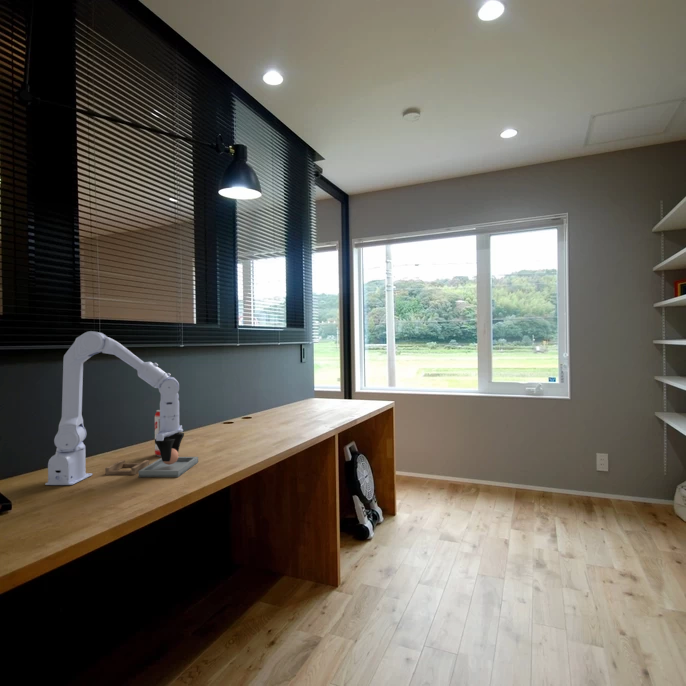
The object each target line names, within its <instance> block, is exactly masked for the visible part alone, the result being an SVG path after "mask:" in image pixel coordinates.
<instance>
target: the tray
mask: <svg viewBox="0 0 686 686" xmlns="http://www.w3.org/2000/svg"><path fill="white" fill-rule="evenodd" d="M198 463H199V456H179V457H178V460H177V461H176V462H175V463H173V464H170V465H168V464H165V463H164V462H163V461H162V458H161V457H160V458H159V459H157V460H155V461H154V462H152V463H149V465H148V466H146V467H145V468H143V469H141V470H140V471H139V472H138V478H179V477H181V476H182V475H183V474H184V473H186V472H188V470H190V469H191V468H192V467H194V466H195V465H196V464H198Z"/></svg>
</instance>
